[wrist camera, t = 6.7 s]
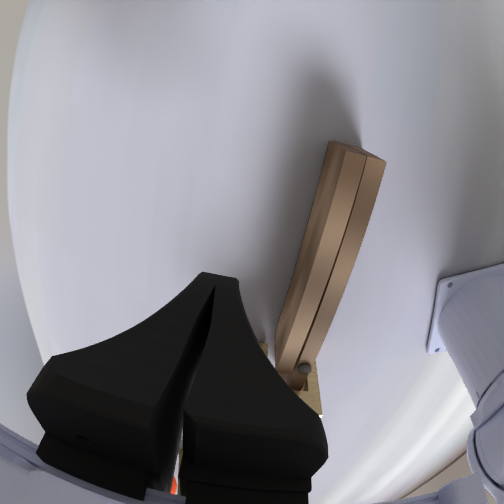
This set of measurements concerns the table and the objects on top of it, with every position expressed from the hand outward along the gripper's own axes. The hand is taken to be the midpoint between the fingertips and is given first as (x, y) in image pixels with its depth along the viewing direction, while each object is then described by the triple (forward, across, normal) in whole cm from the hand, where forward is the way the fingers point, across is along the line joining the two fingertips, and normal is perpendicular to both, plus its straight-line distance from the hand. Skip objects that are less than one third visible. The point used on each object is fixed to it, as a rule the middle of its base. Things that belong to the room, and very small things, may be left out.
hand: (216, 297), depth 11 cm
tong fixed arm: (+9, -6, +3) cm, 11 cm away
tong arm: (+8, -5, +1) cm, 10 cm away
